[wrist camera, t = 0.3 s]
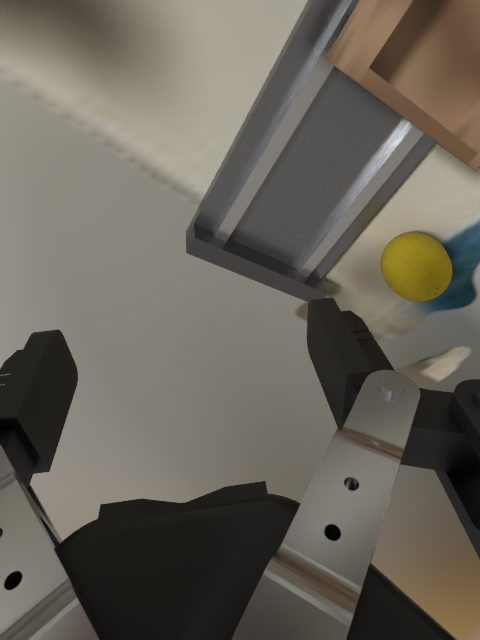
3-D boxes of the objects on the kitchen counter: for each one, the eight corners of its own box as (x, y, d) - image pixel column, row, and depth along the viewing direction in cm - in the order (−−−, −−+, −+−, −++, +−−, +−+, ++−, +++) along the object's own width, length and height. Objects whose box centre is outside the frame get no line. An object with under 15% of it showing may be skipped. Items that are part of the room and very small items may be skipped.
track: (420, -212, 20) (455, -235, 17) (563, -27, 25) (605, -24, 23) (185, 231, 35) (186, 252, 33) (308, 284, 41) (317, 305, 38)
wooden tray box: (452, -184, 19) (540, -228, 14) (568, -32, 24) (662, -29, 19) (316, 52, 25) (347, 74, 20) (429, 137, 30) (475, 170, 25)
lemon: (359, 262, 40) (391, 315, 34) (385, 212, 36) (424, 262, 30) (407, 268, 41) (445, 320, 35) (435, 221, 37) (483, 270, 32)
